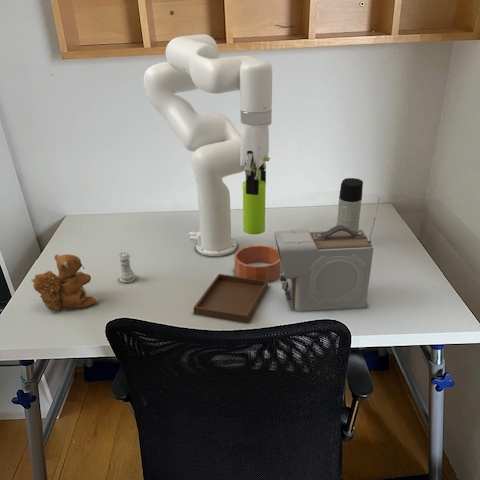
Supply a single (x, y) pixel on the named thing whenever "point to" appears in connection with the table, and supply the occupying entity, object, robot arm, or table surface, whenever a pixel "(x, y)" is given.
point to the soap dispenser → (254, 207)
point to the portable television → (325, 267)
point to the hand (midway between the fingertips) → (256, 189)
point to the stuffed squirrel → (64, 285)
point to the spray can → (350, 203)
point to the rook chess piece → (125, 268)
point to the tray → (231, 298)
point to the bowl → (257, 255)
